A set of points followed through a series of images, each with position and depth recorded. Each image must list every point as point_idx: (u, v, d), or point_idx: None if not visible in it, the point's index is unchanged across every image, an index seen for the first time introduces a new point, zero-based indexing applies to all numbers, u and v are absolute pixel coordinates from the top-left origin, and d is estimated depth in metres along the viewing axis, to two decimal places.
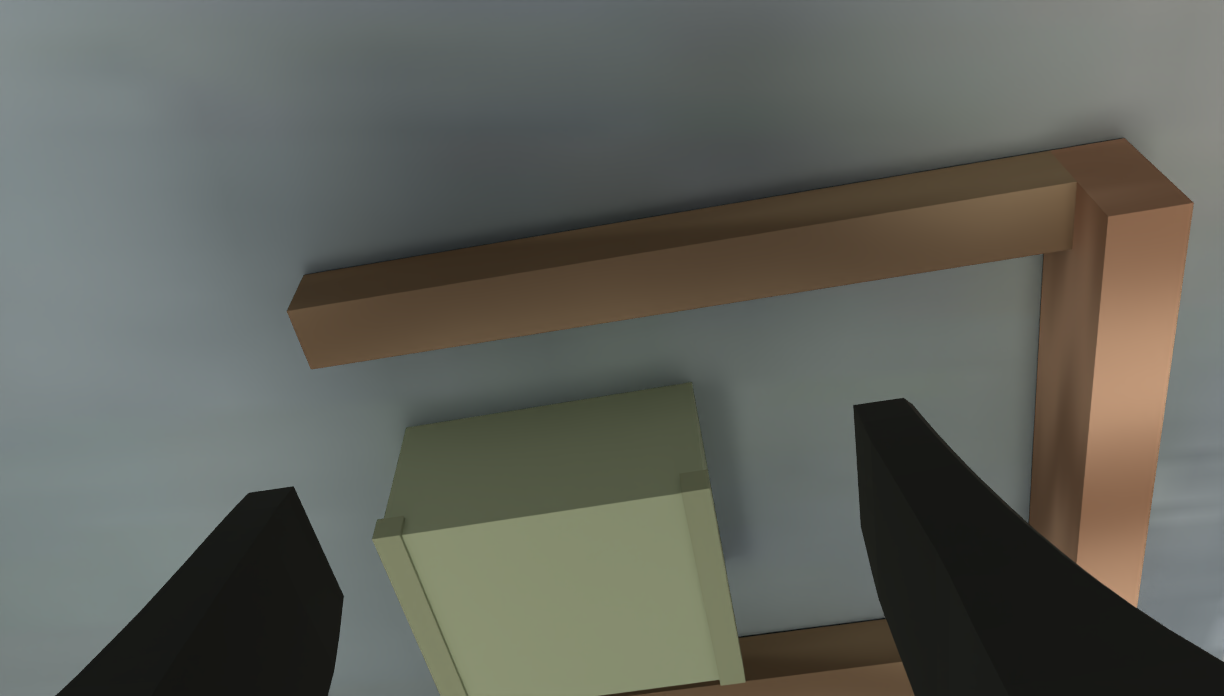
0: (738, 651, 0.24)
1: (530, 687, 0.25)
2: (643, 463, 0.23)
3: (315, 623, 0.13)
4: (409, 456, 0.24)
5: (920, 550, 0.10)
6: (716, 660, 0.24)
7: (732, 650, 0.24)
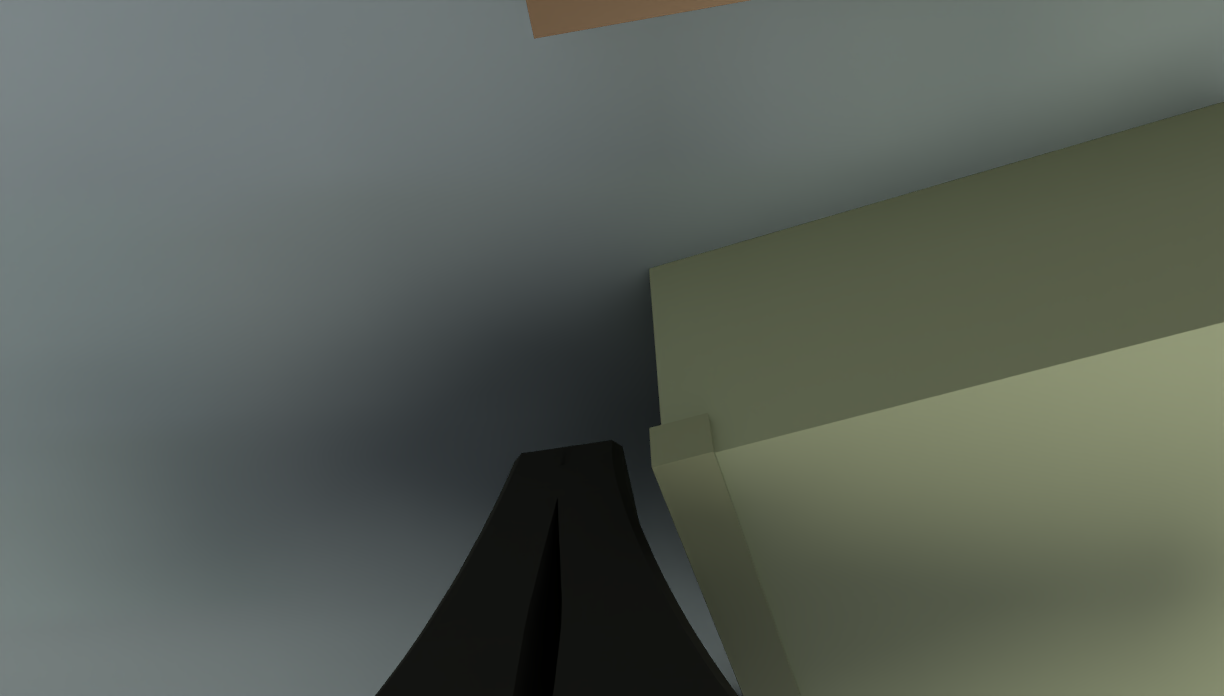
0: None
1: None
2: None
3: None
4: (674, 311, 0.12)
5: None
6: None
7: None
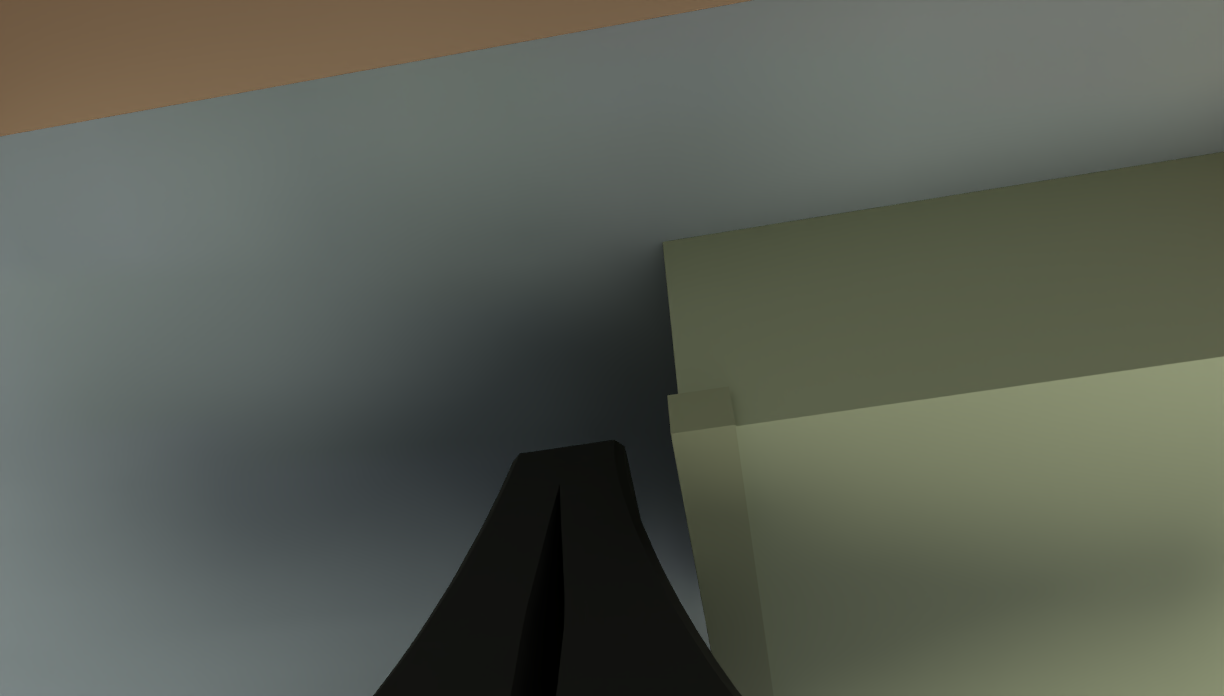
0: None
1: None
2: None
3: None
4: (690, 285, 0.12)
5: None
6: None
7: None
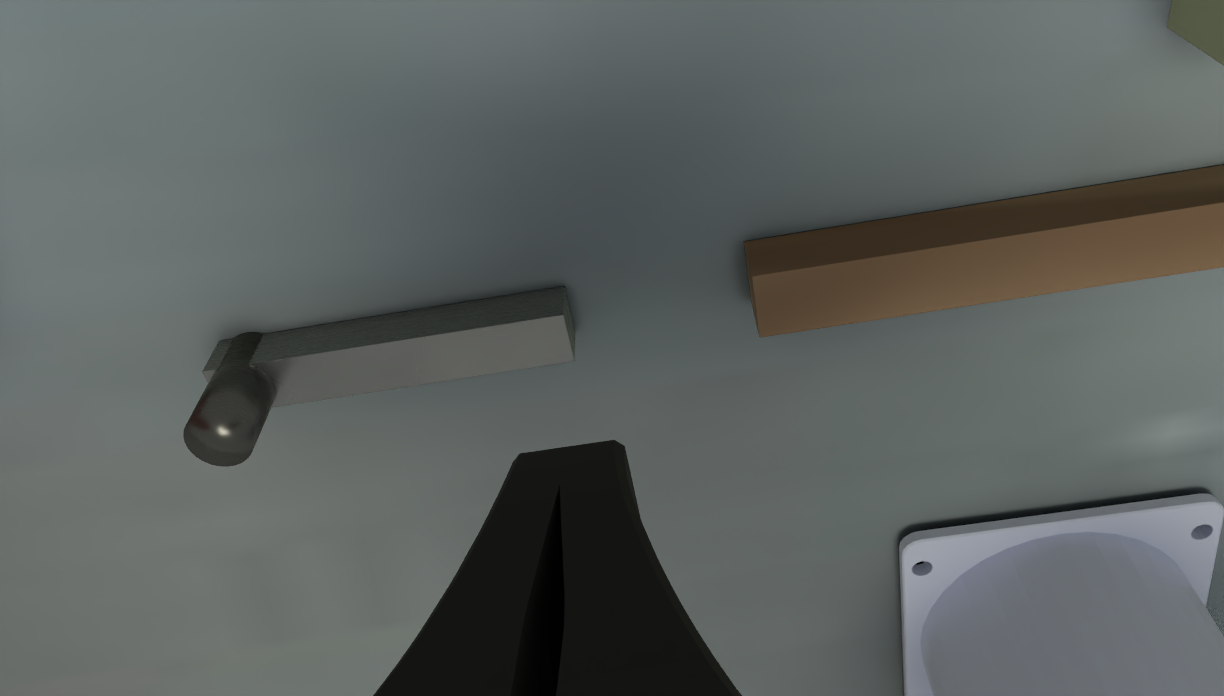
0: None
1: None
2: None
3: None
4: None
5: None
6: None
7: None
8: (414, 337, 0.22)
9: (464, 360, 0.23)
